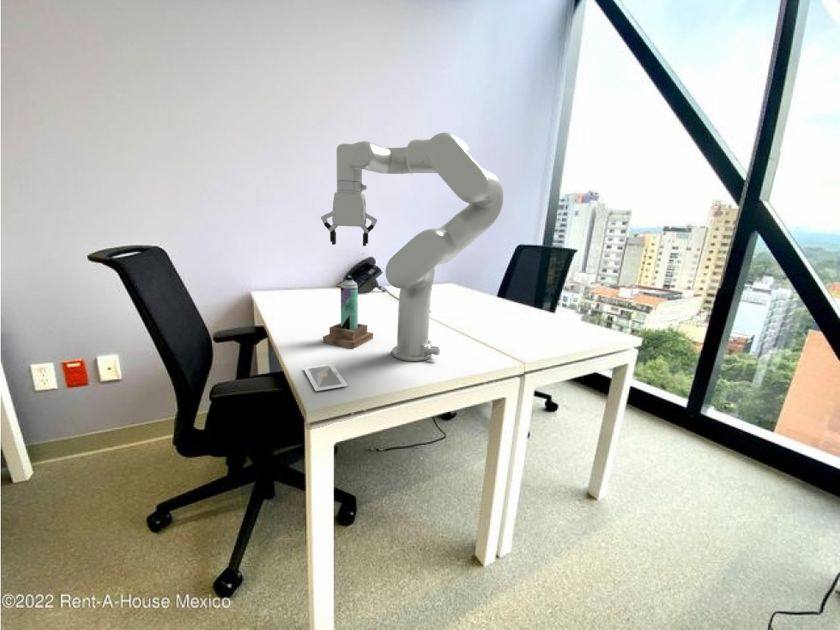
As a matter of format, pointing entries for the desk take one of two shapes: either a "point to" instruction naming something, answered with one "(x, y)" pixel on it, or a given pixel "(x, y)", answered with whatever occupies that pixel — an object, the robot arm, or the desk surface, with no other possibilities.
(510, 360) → the desk surface
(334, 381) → the touchpad
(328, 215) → the robot arm
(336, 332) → the display stand
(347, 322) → the spray can
